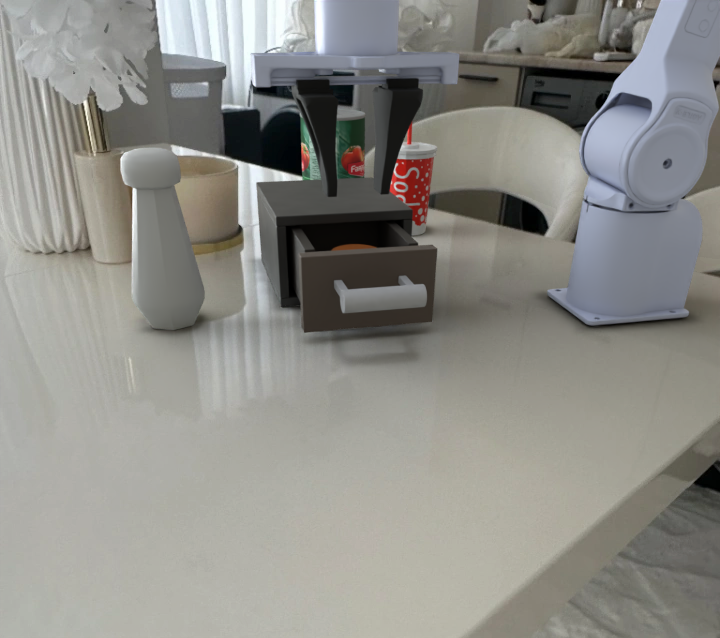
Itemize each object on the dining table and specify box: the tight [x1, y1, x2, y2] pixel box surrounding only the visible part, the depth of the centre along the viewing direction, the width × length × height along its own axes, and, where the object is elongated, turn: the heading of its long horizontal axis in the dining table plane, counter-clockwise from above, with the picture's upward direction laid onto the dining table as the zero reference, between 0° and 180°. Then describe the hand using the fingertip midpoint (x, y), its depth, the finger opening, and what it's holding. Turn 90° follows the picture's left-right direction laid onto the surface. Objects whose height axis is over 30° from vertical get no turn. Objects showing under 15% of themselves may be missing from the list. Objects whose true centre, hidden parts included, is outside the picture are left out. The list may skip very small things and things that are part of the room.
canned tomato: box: [299, 108, 367, 180], centre depth 88 cm, size 8×8×11 cm
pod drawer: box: [286, 220, 438, 334], centre depth 57 cm, size 17×10×6 cm, turn 14°
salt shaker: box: [120, 147, 206, 331], centre depth 55 cm, size 6×6×13 cm
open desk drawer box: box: [255, 176, 413, 308], centre depth 66 cm, size 14×12×8 cm
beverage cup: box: [390, 122, 438, 237], centre depth 79 cm, size 6×6×14 cm
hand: (355, 193), depth 55 cm, fingers open, 3 cm apart
